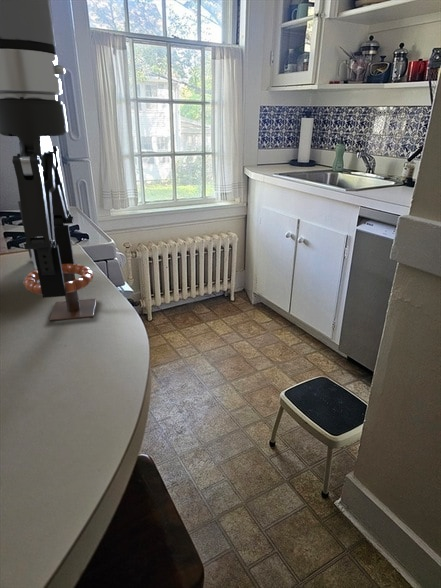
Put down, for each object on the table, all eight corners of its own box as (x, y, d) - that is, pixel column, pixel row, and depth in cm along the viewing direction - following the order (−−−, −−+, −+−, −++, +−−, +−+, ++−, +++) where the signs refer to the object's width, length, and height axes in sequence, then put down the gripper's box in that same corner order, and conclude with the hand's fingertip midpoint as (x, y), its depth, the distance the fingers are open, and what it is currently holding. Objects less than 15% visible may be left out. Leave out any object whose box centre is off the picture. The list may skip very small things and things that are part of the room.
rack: (56, 306, 81) (46, 250, 76) (96, 302, 82) (88, 248, 77) (49, 324, 74) (37, 264, 69) (93, 320, 75) (85, 261, 70)
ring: (33, 273, 57) (31, 264, 56) (95, 269, 59) (94, 260, 58) (17, 299, 49) (15, 289, 49) (90, 293, 51) (89, 283, 50)
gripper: (46, 95, 35) (80, 315, 45) (74, 100, 55) (94, 254, 64) (-46, 93, 34) (10, 320, 44) (16, 99, 53) (45, 257, 63)
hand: (60, 281), depth 54 cm, fingers closed on ring, 9 cm apart
